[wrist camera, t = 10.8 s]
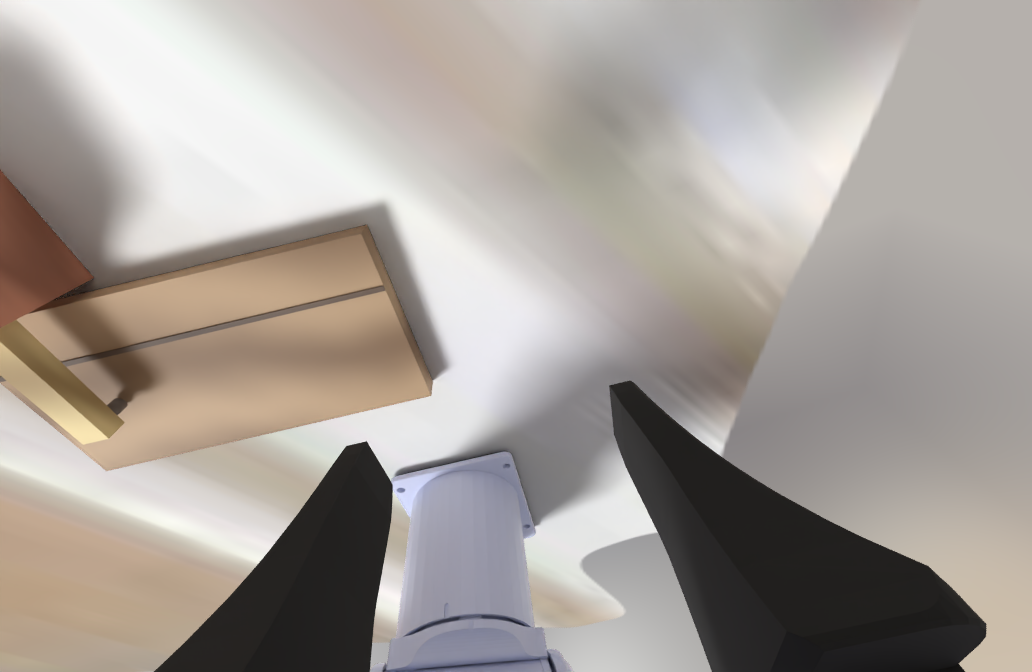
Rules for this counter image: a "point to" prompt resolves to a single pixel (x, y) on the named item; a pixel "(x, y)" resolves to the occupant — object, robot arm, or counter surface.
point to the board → (236, 347)
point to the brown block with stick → (25, 287)
